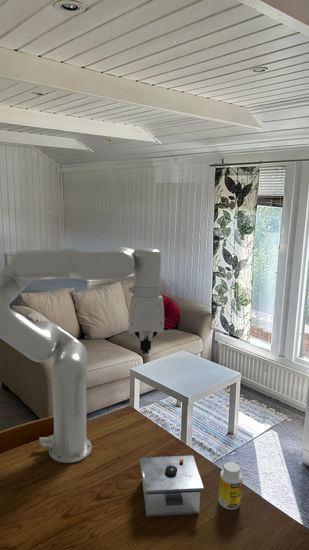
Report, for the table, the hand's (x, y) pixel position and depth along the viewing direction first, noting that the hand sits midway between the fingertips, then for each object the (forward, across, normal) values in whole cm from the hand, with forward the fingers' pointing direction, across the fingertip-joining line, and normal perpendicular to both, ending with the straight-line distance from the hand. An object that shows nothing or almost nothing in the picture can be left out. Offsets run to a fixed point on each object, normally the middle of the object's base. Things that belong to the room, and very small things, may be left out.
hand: (145, 352), depth 121 cm
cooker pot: (+31, +5, -22) cm, 38 cm away
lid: (+25, +5, -22) cm, 33 cm away
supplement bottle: (+31, +20, -25) cm, 45 cm away
